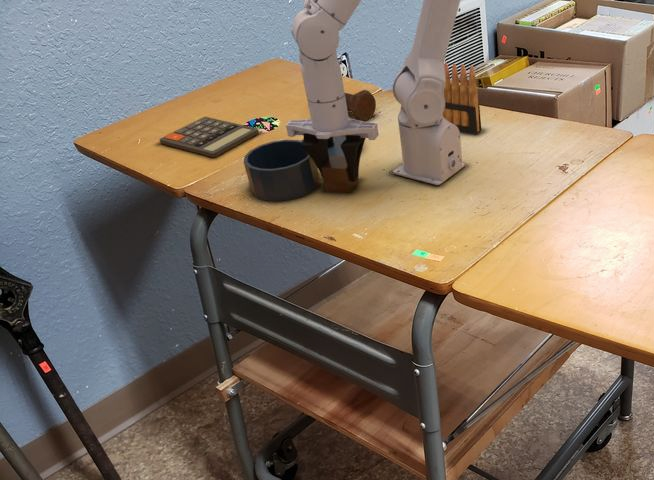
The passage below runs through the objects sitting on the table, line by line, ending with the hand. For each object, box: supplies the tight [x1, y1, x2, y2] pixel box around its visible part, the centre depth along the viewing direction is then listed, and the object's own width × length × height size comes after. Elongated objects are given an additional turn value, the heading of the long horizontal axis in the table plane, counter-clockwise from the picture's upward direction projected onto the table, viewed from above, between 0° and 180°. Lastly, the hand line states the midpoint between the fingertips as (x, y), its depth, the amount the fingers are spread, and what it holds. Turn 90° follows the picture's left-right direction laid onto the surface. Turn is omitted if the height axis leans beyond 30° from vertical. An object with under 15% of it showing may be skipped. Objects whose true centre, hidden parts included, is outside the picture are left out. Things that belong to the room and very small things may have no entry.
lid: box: [300, 137, 346, 158], centre depth 126 cm, size 12×12×4 cm
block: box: [321, 156, 360, 194], centre depth 115 cm, size 4×4×4 cm
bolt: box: [344, 89, 377, 122], centre depth 140 cm, size 6×5×15 cm
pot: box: [243, 139, 320, 202], centre depth 116 cm, size 11×11×5 cm
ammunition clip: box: [443, 61, 482, 135], centre depth 127 cm, size 11×2×12 cm, turn 60°
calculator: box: [159, 116, 260, 158], centre depth 135 cm, size 12×1×15 cm
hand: (340, 178), depth 116 cm, fingers closed on block, 4 cm apart
